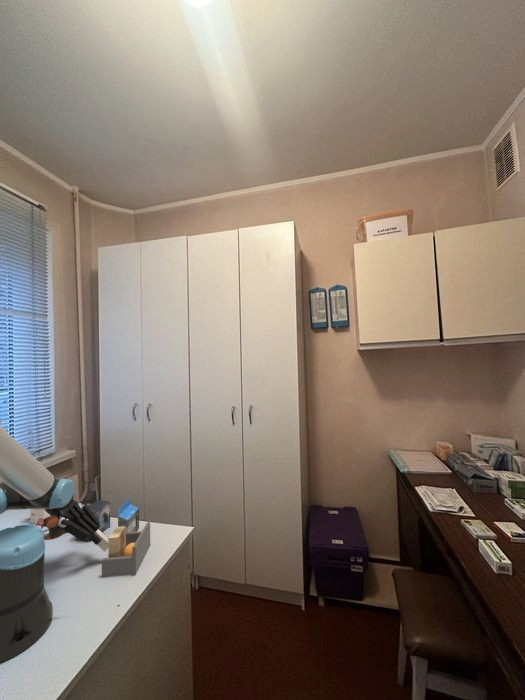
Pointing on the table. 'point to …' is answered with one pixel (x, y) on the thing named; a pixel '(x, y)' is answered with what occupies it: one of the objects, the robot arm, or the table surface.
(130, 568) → the pitch
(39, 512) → the ink cartridge box
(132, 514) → the label tape cartridge
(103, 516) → the small box
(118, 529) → the wooden block
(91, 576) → the table surface
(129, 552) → the ball
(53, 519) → the pottery mug
